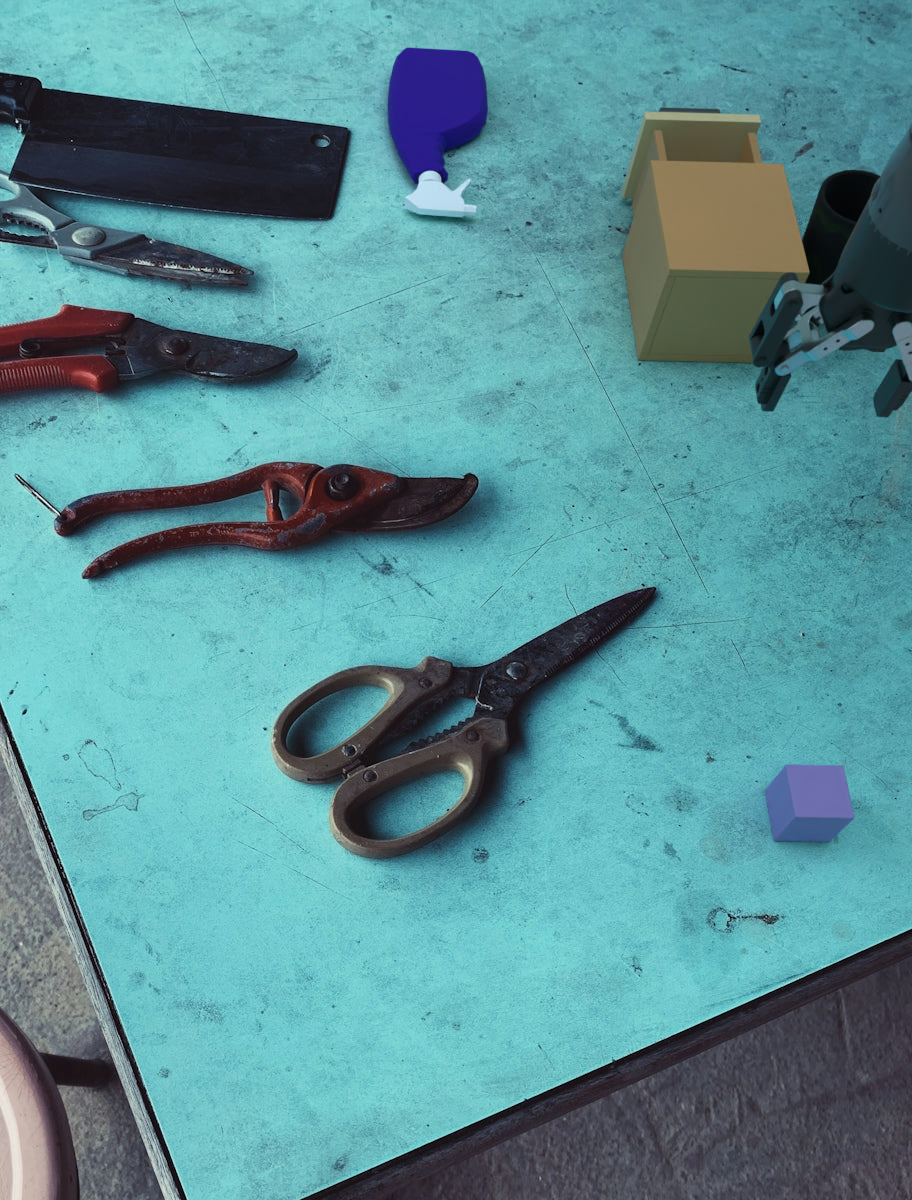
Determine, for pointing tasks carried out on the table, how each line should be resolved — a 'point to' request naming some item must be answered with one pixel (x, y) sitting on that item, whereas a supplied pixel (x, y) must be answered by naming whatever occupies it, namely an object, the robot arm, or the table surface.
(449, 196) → the spray bottle
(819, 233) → the cup
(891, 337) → the robot arm
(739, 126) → the drawer
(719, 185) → the cabinet
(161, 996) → the table surface
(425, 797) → the table surface
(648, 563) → the table surface
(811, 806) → the violet matte cube
